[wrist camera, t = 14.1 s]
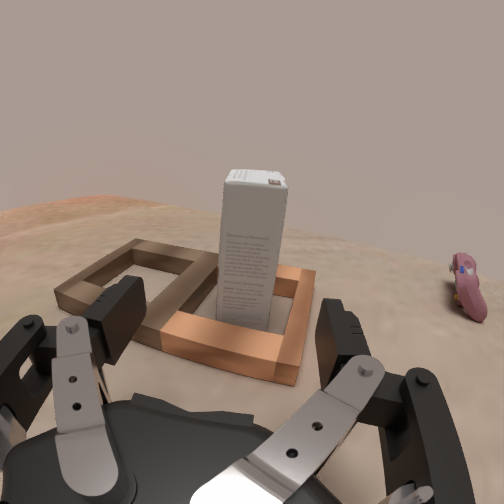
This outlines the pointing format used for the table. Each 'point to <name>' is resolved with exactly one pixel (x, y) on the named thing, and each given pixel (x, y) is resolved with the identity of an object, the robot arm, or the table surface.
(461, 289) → the video game controller
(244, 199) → the skincare box
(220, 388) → the table surface
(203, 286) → the brown flat frame
